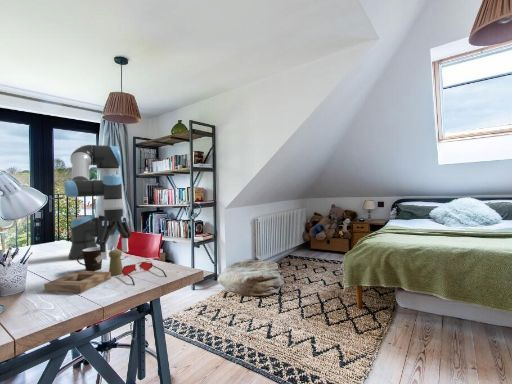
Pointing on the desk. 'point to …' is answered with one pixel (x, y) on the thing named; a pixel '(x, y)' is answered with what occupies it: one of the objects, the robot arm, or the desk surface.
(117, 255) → the cork
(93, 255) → the coffee mug
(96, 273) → the socket block
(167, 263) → the desk surface
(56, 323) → the desk surface
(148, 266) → the glasses
